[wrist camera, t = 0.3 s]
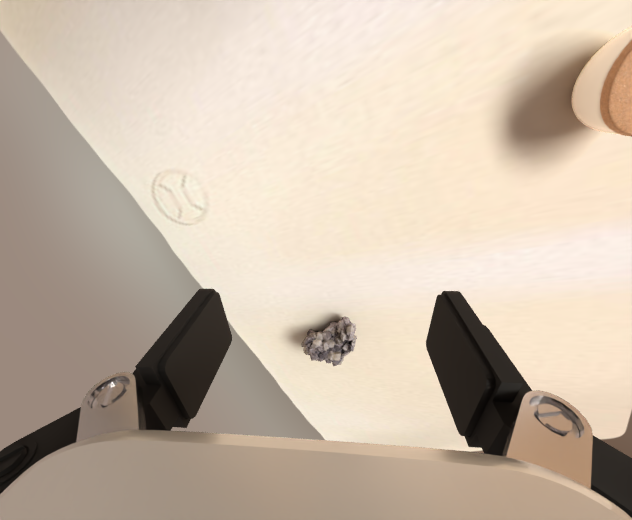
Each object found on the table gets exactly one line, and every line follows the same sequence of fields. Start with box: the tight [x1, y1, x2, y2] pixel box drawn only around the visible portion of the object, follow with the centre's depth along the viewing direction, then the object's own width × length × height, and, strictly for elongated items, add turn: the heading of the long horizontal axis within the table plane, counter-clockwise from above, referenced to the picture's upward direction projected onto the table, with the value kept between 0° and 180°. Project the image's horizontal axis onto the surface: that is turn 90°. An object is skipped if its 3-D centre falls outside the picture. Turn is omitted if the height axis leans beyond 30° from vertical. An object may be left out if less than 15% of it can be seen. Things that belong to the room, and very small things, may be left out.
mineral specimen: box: [302, 317, 357, 366], centre depth 50 cm, size 12×9×10 cm
